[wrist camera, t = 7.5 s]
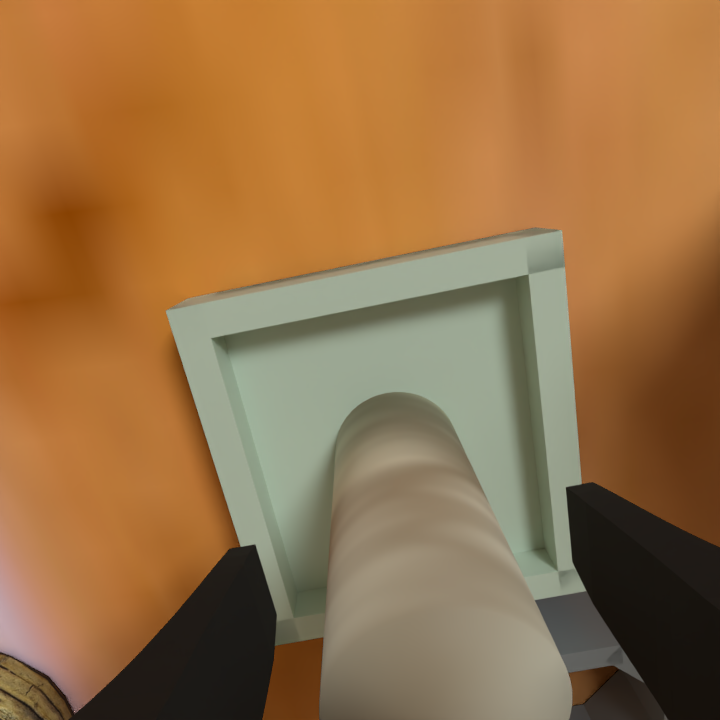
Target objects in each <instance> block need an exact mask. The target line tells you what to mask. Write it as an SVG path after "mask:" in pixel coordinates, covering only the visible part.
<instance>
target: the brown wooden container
mask: <svg viewBox="0 0 720 720" xmlns="http://www.w3.org/2000/svg"><path fill="white" fill-rule="evenodd" d="M73 715H74V714H73V712H72V710H71V708H70V706H69V704H68V702H67V700H66V698H65V696H64V695H63V694H62V693H61V691H60V690H59V689H58V688H57V687H56V686H55V684H54V683H53V682H52V681H51V680H50V679H49V677H48V676H46V675H44V674H42V673H40V672H39V671H37V670H35V669H33V668H31V667H29V666H27V665H25V664H24V663H22V662H20V661H18V660H16V659H14V658H12V657H11V656H8V655H5V654H2V653H0V720H68V719H70V718H71V717H72V716H73Z"/></svg>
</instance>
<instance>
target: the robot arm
mask: <svg viewBox="0 0 720 720" xmlns="http://www.w3.org/2000/svg"><path fill="white" fill-rule="evenodd" d="M566 496H567V508H568V519H569V530H570V541H571V553H572V562H573V564H574V567H575V569H576V571H577V573H578V575H579V577H580V579H581V581H582V583H583V585H584V587H585V589H586V591H587V593H588V595H589V597H590V599H591V601H592V603H593V605H594V606H595V608H596V609H597V611H598V612H599V614H600V616H601V617H602V619H603V620H604V622H605V623H606V625H607V626H608V628H609V629H610V631H611V633H612V634H613V636H614V637H615V639H616V640H617V642H618V643H619V645H620V646H621V648H622V649H623V651H624V652H625V654H626V655H627V657H628V658H629V660H630V661H631V663H632V665H633V666H634V668H635V669H636V671H637V672H638V674H639V675H640V677H641V678H642V680H643V681H644V683H645V684H646V686H647V687H648V689H649V690H650V692H651V693H652V695H653V696H654V698H655V699H656V701H657V703H658V704H659V706H660V707H661V709H662V711H663V712H664V714H665V716H666V717H667V719H668V720H720V548H719V547H717V546H715V545H713V544H711V543H709V542H707V541H704V540H702V539H700V538H698V537H696V536H694V535H692V534H690V533H688V532H686V531H684V530H682V529H680V528H678V527H676V526H674V525H672V524H670V523H668V522H666V521H664V520H662V519H661V518H659V517H657V516H655V515H653V514H651V513H649V512H647V511H646V510H644V509H642V508H640V507H638V506H636V505H635V504H633V503H631V502H629V501H627V500H625V499H624V498H622V497H620V496H618V495H616V494H614V493H613V492H611V491H609V490H607V489H605V488H603V487H601V486H599V485H597V484H595V483H593V482H591V483H586V484H580V485H575V486H569V487H566ZM276 622H277V613H276V610H275V607H274V603H273V600H272V597H271V594H270V590H269V587H268V584H267V581H266V577H265V574H264V571H263V568H262V564H261V561H260V558H259V555H258V551H257V548H256V545H255V544H254V545H248V546H243V547H237V548H232V549H229V550H228V551H227V553H226V554H225V555H224V556H223V557H222V558H221V559H220V561H219V562H218V563H217V564H216V566H215V567H214V568H213V569H212V570H211V572H210V573H209V574H208V575H207V576H206V578H205V579H204V580H203V581H202V583H201V584H200V585H199V586H198V587H197V589H196V590H195V591H194V592H193V593H192V595H191V596H190V597H189V598H188V599H187V601H186V602H185V603H184V604H183V605H182V606H181V608H180V609H179V610H178V611H177V612H176V614H175V615H174V616H173V617H172V618H171V619H170V620H169V621H168V623H167V624H166V625H165V626H164V627H163V628H162V629H161V630H160V631H159V632H158V633H157V635H156V636H155V637H154V638H153V639H152V640H151V641H150V642H149V643H148V644H147V646H146V647H145V648H144V649H143V650H142V651H141V652H140V653H139V654H138V655H137V656H136V657H135V658H134V659H133V660H132V661H131V662H130V663H129V664H128V665H127V666H126V667H125V668H124V669H123V670H122V671H121V672H120V673H119V674H118V675H117V676H116V677H115V678H114V679H113V680H112V681H111V682H110V683H109V684H108V685H107V686H106V687H105V688H103V689H102V690H101V691H100V692H99V693H98V694H97V695H96V696H95V697H94V698H93V699H92V700H91V701H89V702H88V703H87V704H86V705H85V706H84V707H83V708H81V709H80V710H79V711H78V712H77V713H75V714H74V715H73V716H72V717H71V718H70V719H68V720H262V718H263V713H264V708H265V703H266V698H267V692H268V687H269V682H270V677H271V672H272V666H273V661H274V650H275V637H276Z"/></svg>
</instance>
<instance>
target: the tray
mask: <svg viewBox="0 0 720 720" xmlns="http://www.w3.org/2000/svg"><path fill="white" fill-rule="evenodd" d="M166 313H167V316H168V320H169V323H170V326H171V329H172V332H173V335H174V338H175V342H176V345H177V348H178V351H179V354H180V357H181V360H182V364H183V367H184V370H185V373H186V376H187V379H188V382H189V386H190V389H191V392H192V395H193V398H194V401H195V404H196V408H197V411H198V414H199V417H200V420H201V423H202V426H203V430H204V433H205V436H206V439H207V442H208V445H209V449H210V452H211V455H212V458H213V461H214V464H215V467H216V471H217V474H218V477H219V480H220V483H221V486H222V489H223V493H224V496H225V499H226V502H227V505H228V508H229V511H230V515H231V518H232V521H233V524H234V527H235V530H236V533H237V537H238V540H239V543H240V546H241V547H243V546H248V545H254V544H255V545H256V548H257V551H258V555H259V558H260V561H261V564H262V568H263V571H264V574H265V577H266V581H267V584H268V587H269V590H270V594H271V597H272V600H273V603H274V607H275V610H276V613H277V622H276V637H275V646H276V645H282V644H288V643H293V642H299V641H305V640H311V639H316V638H322V637H324V623H325V607H326V592H327V576H328V561H329V545H330V530H331V514H332V498H333V483H334V467H335V452H336V441H337V436H338V433H339V430H340V428H341V425H342V423H343V422H344V420H345V419H346V417H347V416H348V415H349V414H350V412H351V411H352V410H353V409H355V408H356V407H357V406H358V405H359V404H361V403H362V402H364V401H366V400H368V399H369V398H372V397H374V396H377V395H380V394H384V393H391V392H406V393H412V394H416V395H419V396H422V397H424V398H427V399H428V400H430V401H432V402H433V403H435V404H436V405H437V406H439V407H440V408H441V409H442V410H443V411H444V412H445V414H446V415H447V416H448V418H449V419H450V421H451V423H452V425H453V427H454V429H455V431H456V433H457V435H458V438H459V440H460V442H461V444H462V446H463V448H464V450H465V453H466V455H467V457H468V459H469V461H470V463H471V465H472V467H473V470H474V472H475V474H476V476H477V478H478V480H479V482H480V485H481V487H482V489H483V491H484V493H485V495H486V497H487V500H488V502H489V504H490V506H491V508H492V510H493V512H494V514H495V517H496V519H497V521H498V523H499V525H500V527H501V529H502V532H503V534H504V536H505V538H506V540H507V542H508V544H509V546H510V549H511V551H512V553H513V555H514V557H515V559H516V561H517V564H518V566H519V568H520V570H521V572H522V574H523V576H524V578H525V581H526V583H527V585H528V587H529V589H530V591H531V593H532V596H533V598H534V600H538V599H544V598H550V597H556V596H561V595H567V594H573V593H578V592H584V591H586V589H585V587H584V585H583V583H582V581H581V579H580V577H579V575H578V573H577V571H576V569H575V567H574V564H573V562H572V553H571V541H570V530H569V519H568V508H567V496H566V487H569V486H575V485H580V484H582V481H581V468H580V455H579V443H578V430H577V417H576V404H575V391H574V378H573V366H572V353H571V340H570V327H569V314H568V302H567V289H566V276H565V263H564V250H563V238H562V230H555V229H545V228H531V229H526V230H521V231H516V232H511V233H506V234H501V235H496V236H492V237H487V238H482V239H477V240H472V241H467V242H462V243H457V244H452V245H447V246H442V247H438V248H433V249H428V250H423V251H418V252H413V253H408V254H403V255H398V256H393V257H389V258H384V259H379V260H374V261H369V262H364V263H359V264H354V265H349V266H344V267H340V268H335V269H330V270H325V271H320V272H315V273H310V274H305V275H300V276H295V277H290V278H286V279H281V280H276V281H271V282H266V283H261V284H256V285H251V286H246V287H241V288H237V289H232V290H227V291H222V292H217V293H212V294H207V295H202V296H197V297H192V298H188V299H186V300H184V301H182V302H181V303H179V304H177V305H175V306H173V307H172V308H170V309H168V310H166Z"/></svg>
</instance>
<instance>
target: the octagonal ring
mask: <svg viewBox="0 0 720 720" xmlns="http://www.w3.org/2000/svg"><path fill="white" fill-rule="evenodd" d="M535 602H536V604H537V606H538V608H539V610H540V613H541V615H542V617H543V619H544V621H545V623H546V625H547V628H548V630H549V632H550V634H551V636H552V638H553V640H554V642H555V645H556V647H557V649H558V651H559V653H560V655H561V657H562V660H563V662H564V664H565V666H566V668H567V671H568V673H570V672H576V671H582V670H588V669H594V668H600V667H606V666H612V665H613V666H615V667H617V668H619V670H618V671H617V672H616V673H615V674H614V675H613V676H612V677H611V678H610V679H609V680H608V681H607V682H606V683H605V684H604V685H603V686H602V687H601V688H600V689H599V690H598V691H597V692H596V693H595V694H594V695H593V696H592V697H591V698H590V699H589V700H588V701H587V702H586V703H584V704H583V705H577V706H572V708H571V714H570V718H569V720H668V719H667V717H666V716H665V714H664V712H663V711H662V709H661V707H660V706H659V704H658V703H657V701H656V699H655V698H654V696H653V695H652V693H651V692H650V690H649V689H648V687H647V686H646V684H645V683H644V681H643V680H642V678H641V677H640V675H639V674H638V672H637V671H636V669H635V668H634V666H633V665H632V663H631V661H630V660H629V658H628V657H627V655H626V654H625V652H624V651H623V649H622V648H621V646H620V645H619V643H618V642H617V640H616V639H615V637H614V636H613V634H612V633H611V631H610V629H609V628H608V626H607V625H606V623H605V622H604V620H603V619H602V617H601V616H600V614H599V612H598V611H597V609H596V608H595V606H594V605H593V603H592V601H591V599H590V597H589V595H588V593H587V591H584V592H578V593H573V594H567V595H561V596H556V597H550V598H544V599H538V600H535Z"/></svg>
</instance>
